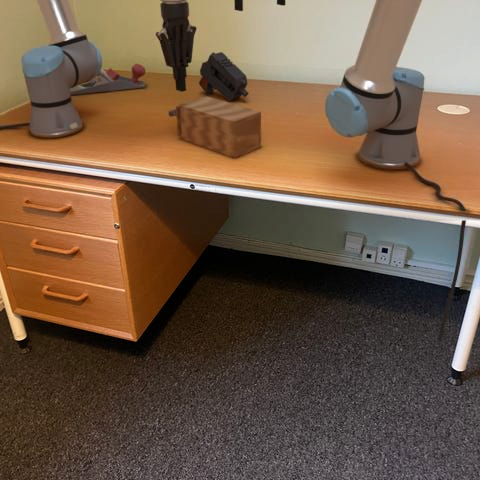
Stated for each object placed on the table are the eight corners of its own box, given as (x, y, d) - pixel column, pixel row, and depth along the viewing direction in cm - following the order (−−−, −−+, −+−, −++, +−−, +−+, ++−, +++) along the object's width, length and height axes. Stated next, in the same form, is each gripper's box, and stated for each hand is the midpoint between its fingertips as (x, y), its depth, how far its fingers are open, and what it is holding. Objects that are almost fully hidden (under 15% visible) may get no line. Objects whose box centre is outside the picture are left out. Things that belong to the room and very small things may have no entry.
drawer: (165, 129, 158) (163, 102, 154) (188, 121, 164) (186, 95, 160) (227, 151, 143) (226, 121, 139) (250, 141, 149) (250, 112, 144)
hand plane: (62, 90, 197) (53, 48, 189) (145, 82, 205) (140, 41, 197) (62, 96, 191) (54, 53, 184) (148, 87, 199) (143, 45, 191)
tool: (204, 81, 194) (218, 46, 183) (240, 115, 190) (257, 82, 179) (193, 84, 190) (206, 49, 179) (229, 120, 186) (245, 86, 175)
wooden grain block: (181, 139, 154) (178, 105, 149) (207, 129, 160) (205, 96, 155) (235, 158, 141) (234, 121, 136) (260, 146, 148) (261, 111, 142)
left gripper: (183, -3, 147) (189, 83, 160) (145, 3, 139) (155, 92, 152) (201, -1, 143) (206, 87, 155) (164, 5, 135) (172, 98, 147)
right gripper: (291, -90, 136) (288, 1, 147) (207, -87, 124) (212, 10, 135) (310, -90, 130) (306, 4, 142) (225, -88, 119) (228, 14, 130)
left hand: (181, 90), depth 153 cm, fingers closed
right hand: (260, 7), depth 138 cm, fingers open, 13 cm apart
